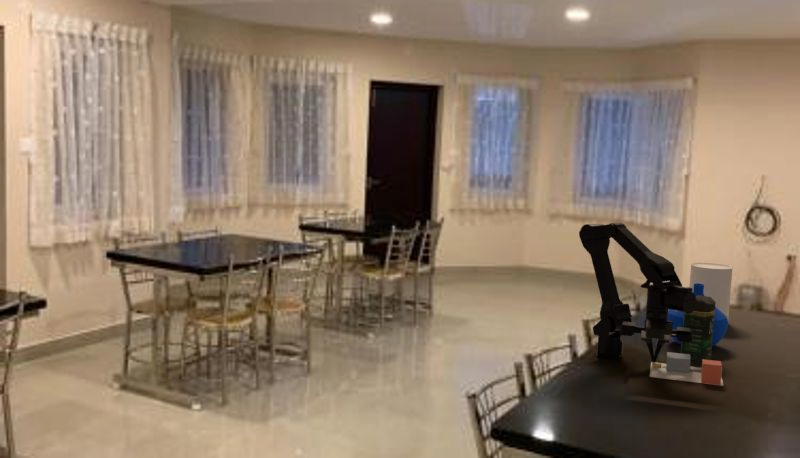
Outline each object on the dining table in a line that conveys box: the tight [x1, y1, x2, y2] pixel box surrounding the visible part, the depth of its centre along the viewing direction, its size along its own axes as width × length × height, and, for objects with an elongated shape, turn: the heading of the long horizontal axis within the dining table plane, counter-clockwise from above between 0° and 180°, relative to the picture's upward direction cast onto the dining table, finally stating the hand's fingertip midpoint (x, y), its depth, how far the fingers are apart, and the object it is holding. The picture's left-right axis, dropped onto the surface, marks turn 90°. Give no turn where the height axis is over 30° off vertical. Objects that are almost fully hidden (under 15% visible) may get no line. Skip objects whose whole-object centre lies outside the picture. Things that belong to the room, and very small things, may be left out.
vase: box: [667, 283, 729, 348], centre depth 244 cm, size 18×18×19 cm
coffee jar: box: [680, 295, 716, 362], centre depth 227 cm, size 10×8×19 cm
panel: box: [649, 361, 724, 387], centre depth 211 cm, size 18×15×3 cm
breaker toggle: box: [665, 351, 692, 373], centre depth 214 cm, size 6×6×4 cm
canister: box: [688, 262, 733, 320], centre depth 278 cm, size 14×14×20 cm
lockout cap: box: [700, 359, 723, 386], centre depth 204 cm, size 4×4×5 cm
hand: (653, 362), depth 217 cm, fingers closed
